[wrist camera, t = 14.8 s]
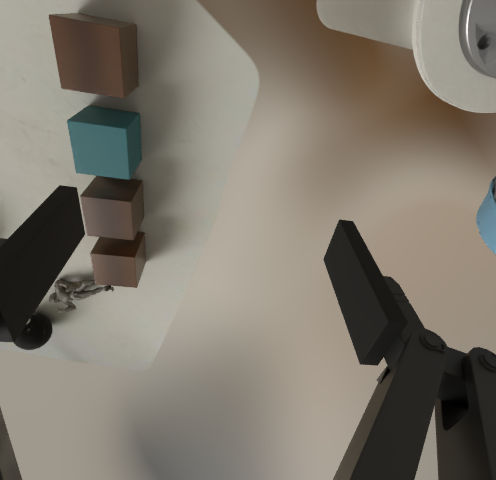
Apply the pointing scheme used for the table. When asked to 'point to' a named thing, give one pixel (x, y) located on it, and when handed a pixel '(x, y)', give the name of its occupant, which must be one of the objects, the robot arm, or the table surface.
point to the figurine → (73, 292)
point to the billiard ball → (34, 333)
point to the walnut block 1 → (95, 54)
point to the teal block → (105, 142)
